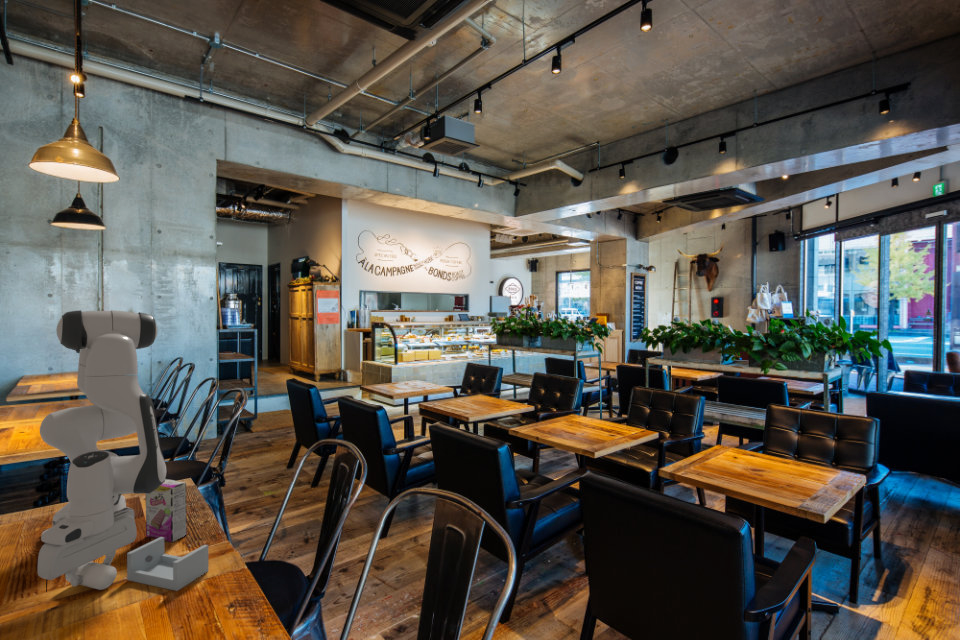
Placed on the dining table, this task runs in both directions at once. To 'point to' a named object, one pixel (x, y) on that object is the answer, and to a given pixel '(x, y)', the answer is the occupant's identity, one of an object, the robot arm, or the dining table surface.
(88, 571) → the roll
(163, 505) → the candy bar box
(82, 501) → the robot arm
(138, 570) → the holder
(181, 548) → the dining table surface
